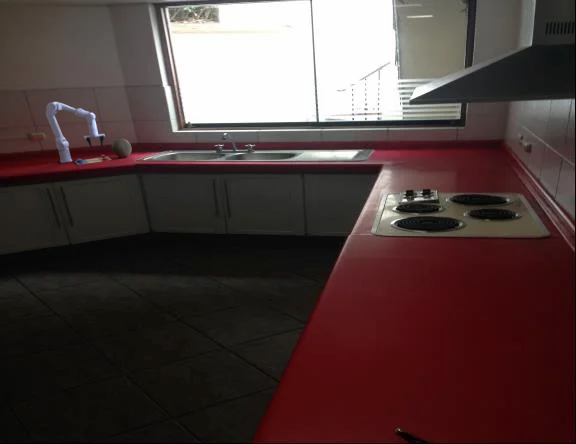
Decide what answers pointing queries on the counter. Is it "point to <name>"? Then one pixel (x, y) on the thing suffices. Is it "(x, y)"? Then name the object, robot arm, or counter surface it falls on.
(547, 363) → the counter surface
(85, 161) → the board
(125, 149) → the cantaloupe
